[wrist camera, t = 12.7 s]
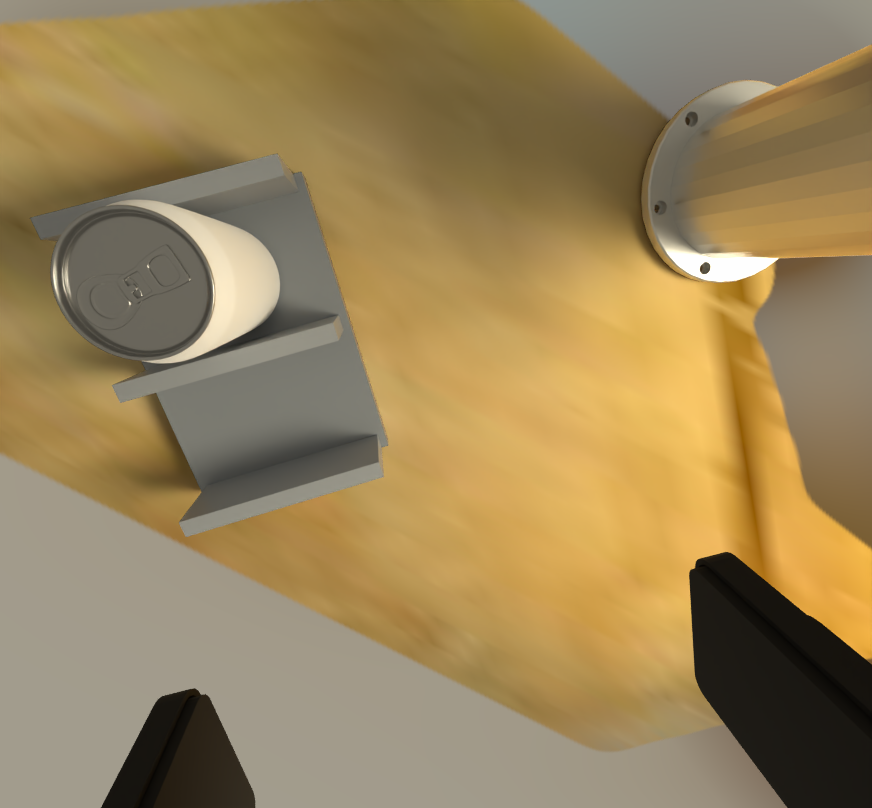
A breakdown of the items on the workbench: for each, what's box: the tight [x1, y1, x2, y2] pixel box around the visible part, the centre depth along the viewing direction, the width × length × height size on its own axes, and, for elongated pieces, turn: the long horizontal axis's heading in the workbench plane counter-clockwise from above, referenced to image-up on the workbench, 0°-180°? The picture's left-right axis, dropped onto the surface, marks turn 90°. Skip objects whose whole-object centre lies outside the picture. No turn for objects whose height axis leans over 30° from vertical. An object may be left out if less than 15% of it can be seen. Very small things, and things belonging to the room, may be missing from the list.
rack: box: [30, 154, 388, 537], centre depth 29 cm, size 13×18×6 cm
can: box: [50, 200, 280, 363], centre depth 23 cm, size 6×6×12 cm
